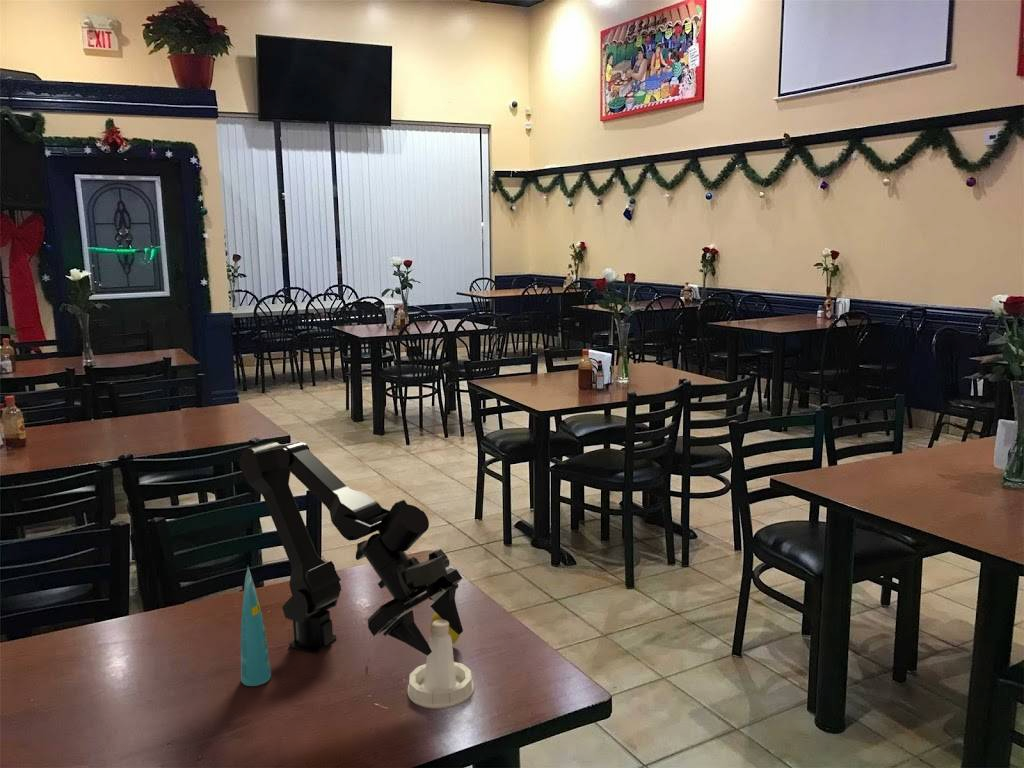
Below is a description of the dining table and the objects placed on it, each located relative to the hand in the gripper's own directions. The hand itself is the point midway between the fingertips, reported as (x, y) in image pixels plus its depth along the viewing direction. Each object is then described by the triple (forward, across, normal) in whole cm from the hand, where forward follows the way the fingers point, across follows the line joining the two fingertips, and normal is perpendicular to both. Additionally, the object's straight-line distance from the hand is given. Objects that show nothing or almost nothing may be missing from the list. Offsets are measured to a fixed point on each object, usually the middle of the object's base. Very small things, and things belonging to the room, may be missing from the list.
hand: (445, 643), depth 132 cm
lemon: (0, +12, +13) cm, 18 cm away
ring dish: (+5, 0, +7) cm, 9 cm away
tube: (-15, -14, +28) cm, 35 cm away
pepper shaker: (+5, 0, +7) cm, 8 cm away
